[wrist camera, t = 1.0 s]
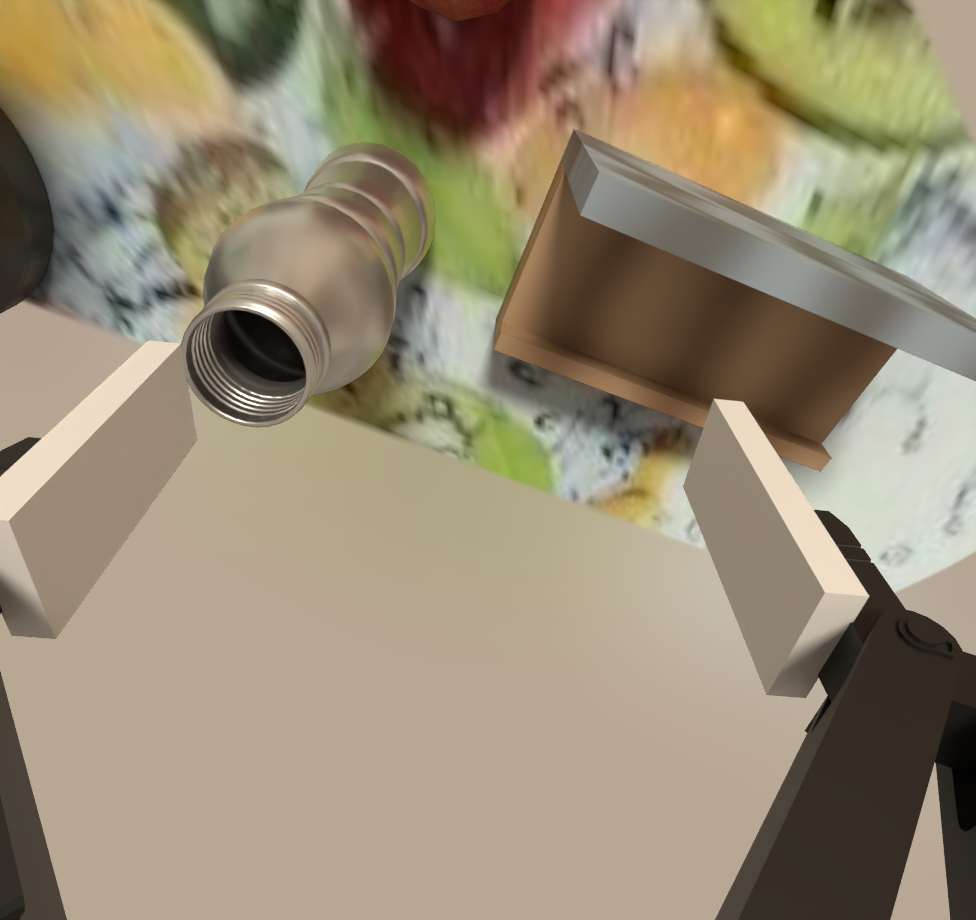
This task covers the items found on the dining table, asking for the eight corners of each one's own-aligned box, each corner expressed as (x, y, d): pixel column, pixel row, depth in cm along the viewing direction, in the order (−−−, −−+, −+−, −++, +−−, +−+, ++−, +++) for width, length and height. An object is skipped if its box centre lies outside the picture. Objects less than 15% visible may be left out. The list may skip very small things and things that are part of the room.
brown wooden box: (496, 318, 37) (488, 422, 27) (573, 129, 32) (599, 172, 22) (792, 431, 41) (881, 560, 31) (909, 277, 35) (1065, 374, 25)
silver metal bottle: (460, 169, 33) (399, 306, 16) (415, 287, 37) (326, 500, 20) (339, 111, 32) (140, 195, 15) (304, 239, 35) (111, 423, 19)
